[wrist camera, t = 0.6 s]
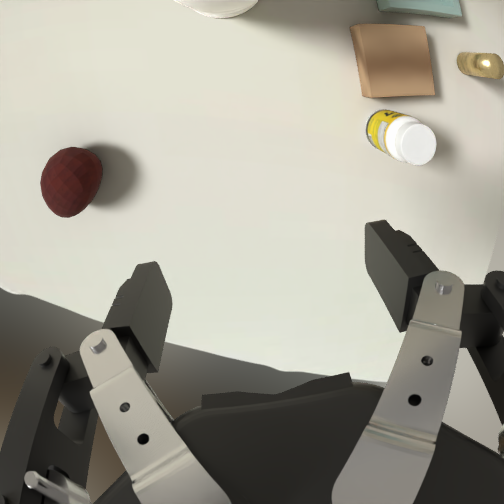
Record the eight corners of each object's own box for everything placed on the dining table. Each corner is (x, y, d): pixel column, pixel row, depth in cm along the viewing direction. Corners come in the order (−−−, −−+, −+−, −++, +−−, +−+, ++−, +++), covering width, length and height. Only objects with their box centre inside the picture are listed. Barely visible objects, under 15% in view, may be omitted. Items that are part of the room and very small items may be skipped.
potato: (45, 169, 32) (18, 185, 26) (87, 127, 30) (61, 138, 24) (77, 213, 35) (55, 236, 30) (122, 176, 33) (102, 195, 28)
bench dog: (455, 51, 25) (486, 52, 20) (472, 53, 25) (502, 55, 20) (458, 74, 27) (489, 78, 22) (474, 75, 26) (505, 80, 21)
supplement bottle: (404, 114, 30) (445, 128, 23) (396, 152, 32) (433, 174, 25) (367, 104, 30) (403, 113, 22) (360, 144, 32) (392, 164, 25)
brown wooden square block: (348, 27, 25) (358, 23, 23) (411, 28, 25) (424, 26, 22) (361, 95, 29) (371, 97, 27) (421, 92, 29) (434, 95, 26)
